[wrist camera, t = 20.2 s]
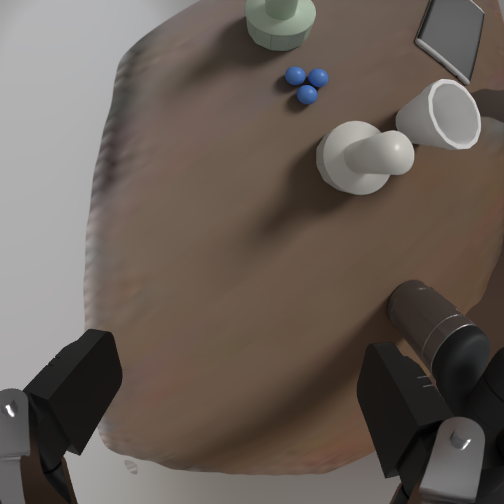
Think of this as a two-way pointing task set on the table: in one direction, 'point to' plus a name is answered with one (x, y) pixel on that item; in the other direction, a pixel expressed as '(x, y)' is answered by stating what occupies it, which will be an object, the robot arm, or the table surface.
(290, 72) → the marble
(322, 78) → the marble
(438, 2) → the smartphone
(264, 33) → the pale green pedestal post
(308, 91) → the marble
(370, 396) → the robot arm
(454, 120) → the foam cup
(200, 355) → the table surface
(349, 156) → the white joystick
